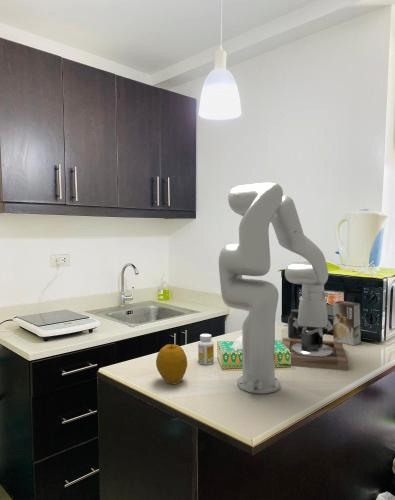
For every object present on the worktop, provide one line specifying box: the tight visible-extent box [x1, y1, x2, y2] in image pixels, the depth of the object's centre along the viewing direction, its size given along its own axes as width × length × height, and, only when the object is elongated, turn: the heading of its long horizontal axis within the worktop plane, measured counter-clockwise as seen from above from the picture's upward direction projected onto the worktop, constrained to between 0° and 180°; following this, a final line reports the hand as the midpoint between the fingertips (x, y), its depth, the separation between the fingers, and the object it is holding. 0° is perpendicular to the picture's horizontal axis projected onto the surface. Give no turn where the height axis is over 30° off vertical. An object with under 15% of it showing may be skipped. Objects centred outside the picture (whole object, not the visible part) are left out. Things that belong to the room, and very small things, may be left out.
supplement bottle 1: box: [197, 333, 215, 366], centre depth 134 cm, size 5×5×10 cm
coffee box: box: [332, 300, 362, 346], centre depth 156 cm, size 9×6×16 cm
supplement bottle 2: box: [287, 308, 303, 339], centre depth 161 cm, size 7×7×12 cm
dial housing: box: [281, 337, 349, 371], centre depth 139 cm, size 22×22×3 cm
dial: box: [292, 328, 333, 357], centre depth 138 cm, size 14×14×8 cm
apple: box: [155, 343, 188, 384], centre depth 117 cm, size 10×10×12 cm
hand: (312, 344), depth 139 cm, fingers closed on dial, 4 cm apart
